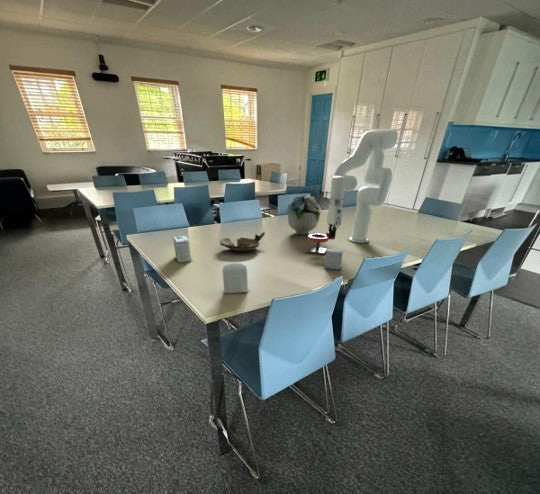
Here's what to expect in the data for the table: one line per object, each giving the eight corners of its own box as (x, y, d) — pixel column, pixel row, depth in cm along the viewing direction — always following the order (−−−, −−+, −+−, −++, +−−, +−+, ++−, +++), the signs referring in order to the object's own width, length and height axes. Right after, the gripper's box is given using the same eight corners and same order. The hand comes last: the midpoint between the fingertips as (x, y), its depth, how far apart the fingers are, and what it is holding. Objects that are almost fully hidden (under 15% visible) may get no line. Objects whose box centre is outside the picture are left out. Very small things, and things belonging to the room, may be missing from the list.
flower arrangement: (321, 238, 211) (326, 198, 196) (285, 237, 211) (287, 197, 196) (317, 229, 231) (321, 192, 217) (284, 228, 231) (286, 191, 217)
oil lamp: (215, 246, 189) (214, 233, 184) (262, 243, 198) (262, 230, 193) (224, 257, 172) (223, 243, 167) (274, 253, 181) (275, 239, 176)
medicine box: (340, 267, 162) (343, 250, 157) (339, 270, 159) (341, 253, 154) (325, 265, 164) (327, 248, 159) (324, 268, 161) (326, 251, 156)
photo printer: (224, 294, 131) (222, 265, 124) (223, 290, 134) (221, 262, 127) (248, 293, 133) (247, 264, 125) (247, 289, 136) (246, 261, 129)
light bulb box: (175, 256, 171) (172, 236, 164) (187, 255, 173) (185, 235, 167) (178, 262, 163) (175, 241, 156) (191, 261, 165) (189, 240, 159)
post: (310, 248, 190) (312, 231, 184) (326, 250, 187) (329, 232, 181) (306, 253, 182) (308, 234, 176) (323, 255, 179) (325, 236, 173)
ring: (312, 242, 174) (313, 235, 172) (304, 237, 183) (305, 230, 181) (338, 241, 178) (339, 234, 176) (329, 236, 188) (330, 229, 185)
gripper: (349, 204, 166) (343, 240, 177) (335, 199, 178) (331, 233, 189) (336, 204, 164) (331, 240, 175) (323, 200, 176) (319, 233, 187)
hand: (331, 236), depth 182 cm, fingers closed on ring, 2 cm apart
